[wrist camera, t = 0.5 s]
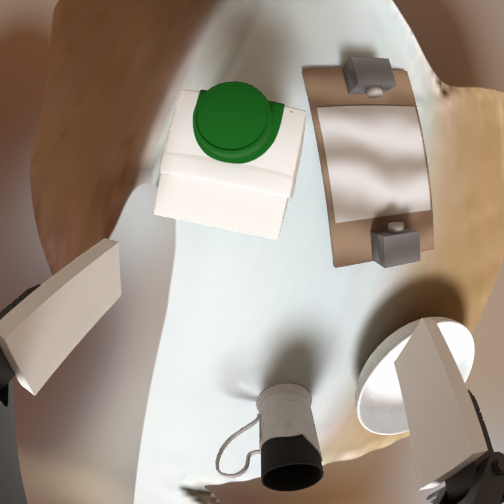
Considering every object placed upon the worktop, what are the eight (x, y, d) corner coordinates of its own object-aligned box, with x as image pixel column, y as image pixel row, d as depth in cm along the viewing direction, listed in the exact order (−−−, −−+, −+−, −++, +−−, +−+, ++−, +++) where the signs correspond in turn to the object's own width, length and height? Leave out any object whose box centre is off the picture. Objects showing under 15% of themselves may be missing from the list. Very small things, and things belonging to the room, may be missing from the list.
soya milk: (286, 148, 32) (326, 94, 12) (270, 221, 34) (289, 264, 14) (214, 133, 32) (162, 67, 12) (198, 206, 34) (126, 229, 14)
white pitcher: (313, 416, 41) (329, 486, 26) (229, 427, 41) (222, 498, 27) (309, 378, 39) (328, 454, 24) (216, 391, 40) (202, 467, 25)
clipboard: (301, 72, 30) (308, 55, 25) (403, 73, 29) (420, 61, 24) (333, 265, 35) (344, 277, 30) (430, 247, 34) (450, 255, 29)
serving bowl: (450, 379, 40) (468, 399, 33) (352, 424, 41) (362, 451, 35) (453, 283, 36) (479, 298, 29) (334, 333, 37) (347, 360, 30)
